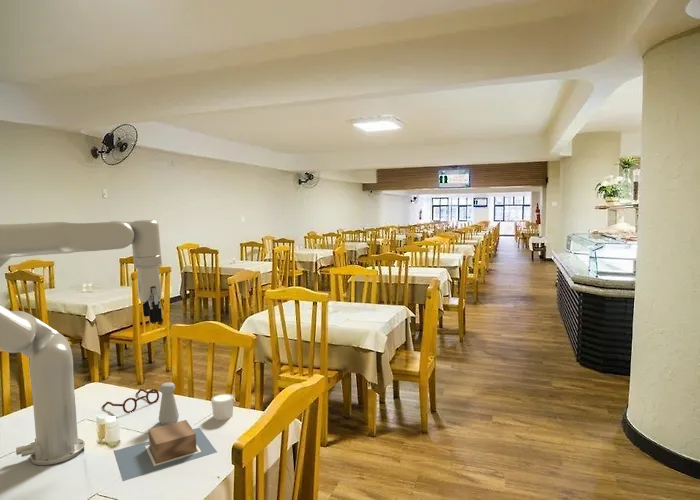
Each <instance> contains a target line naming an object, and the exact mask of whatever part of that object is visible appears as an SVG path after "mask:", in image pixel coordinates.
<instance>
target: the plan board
mask: <svg viewBox="0 0 700 500" xmlns="http://www.w3.org/2000/svg"><path fill="white" fill-rule="evenodd" d="M192 429H193V430H194V432H195V433H196V449H197V451H196V452H193V453H190V454H186V455H183V456H180V457H176V458H173V459H170V460H166V461H163V462H160V463H157V462H156V459H155V457H154V455H153V453H152V451H151V449H150V444H149V440H148V441H145V442H142V443H137V444H134V445H130V446H126V447H123V448H119V449H116V450H113V454H114V456H115V460H116V463H117V467H118V469H119V473H120V476H121V480H122V482H125V481H128V480H131V479H135V478H137V477H140V476H144V475H147V474H150V473H151V474H152V473H154V472H157V471H158V472H159V471H161V470H163V469H167V468H170V467H173V466H177V465H179V464H184V463H186V462H189V461H190V462H191V461H192V460H196V459H199V458H202V457H203V458H204V457H205V456H206V457H207V456H209V455H212V454H216V453H218V451H217V450H216V448H215V447H214V446H213V444H212V443H211V442H210V440H209V439H208V437H207V436H206V435H205V433H204V432H203V430H201V428H200V427H196V428H192Z"/></svg>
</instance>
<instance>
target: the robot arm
mask: <svg viewBox="0 0 700 500" xmlns="http://www.w3.org/2000/svg"><path fill="white" fill-rule="evenodd" d="M160 237H161V236H160V227H159V223H158V222H157V220H154V219H142V220H140V219H139V220H134V221H119V220H111V221H106V222H86V223H84V222H82V223H81V222H80V223H79V222H65V221H50V222H49V221H48V222H34V223H33V222H31V223H12V224H11V223H10V224H9V223H2V224H0V268H1V267H3V266H4V265H5V264H6V263H7V262H8V261H10V260H11V259H12V258H22V257H23V258H24V257H30V256H34V257H35V256H46V255H47V256H49V255H60V254H72V253H73V254H74V253H81V252H84V253H85V252H99V251H110V250H111V251H112V250H120V249H121V250H122V249H125V248H128V247H129V246H130V245H131V246H132V249H131V250H132V259H133V268H134V269H137V294H138V295H137V296H138V298H139V300H140V301H141V302H142V311H143V317H149V322H150V324H154V323H160V322H162V321H163V316H162V306H161V302H160V300H162V289H161V287H162V286H161V279H160V270H159V268H160V267H162V266H163V264H162V263H163V261H162V251H161V250H162V249H161V241H160V240H161V239H160ZM0 351H3V352H6V353H9V354H10V353H11V354H16V353H20V354H22V355H23V356H26V357H27V358H29V364H28V365H29V373H30V375H29V376H30V383H31V393H32V395H31V396H32V403H33V416H34V430H35V438H34V442H30V444H28V445H22V446H18V447H17V446H16V448H15V453H16V456H19V455H21V458H23V457H27V456H29V457H30V459H29V460H30V462H31V463H32V464H34V465H38V466H48V465H49V466H51V465H55V464H60V463H63V462H66V461H68V460H70V459H73V458H75V457H77V456H78V455H80V454H81V453H82V452H83V451H84V450H85V446H86V445H85V440H83V439H81V438H79V436H78V423H77V408H76V407H77V406H76V394H75V393H76V392H75V381H74V380H75V379H74V356H73V352H72V351H73V350H72V348H71V344H70V342H69V340H68V339H67V337H65V336H64V335H63V334H62V333H60V332H58V331H57V330H56V329H54V328H53V327H51V326H49V324H46V323H45V322H44V321H42V320H41V319H39V318H37V317H35V316H34V315H32V314H30V313H29V312H26V311H21V310H10V309H8V308H7V307H5V306H3V305H2V304H0Z"/></svg>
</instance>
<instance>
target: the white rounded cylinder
mask: <svg viewBox="0 0 700 500" xmlns="http://www.w3.org/2000/svg"><path fill="white" fill-rule="evenodd" d="M210 401H211V407H212V416H213V419H214V420H216V421H225V420H230V418H233V413H234V412H233V411H234V395H233V394H231V393H220V394H216V395H214V396H213V397H211V400H210Z"/></svg>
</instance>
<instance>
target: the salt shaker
mask: <svg viewBox="0 0 700 500" xmlns="http://www.w3.org/2000/svg"><path fill="white" fill-rule="evenodd" d="M175 389H176V385H175V383H174V382H172V381H171V382H163V383H162V384H160V386H159V393H161V400H160V406H159V407H160V408H159V413H158V414H159V415H158V421H159V423H160V424H161V426H164V425H168V424H172V423H176V422H179V417H180V413H179V410H178V407H177V403H176V399H175V395H174V391H175Z"/></svg>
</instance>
